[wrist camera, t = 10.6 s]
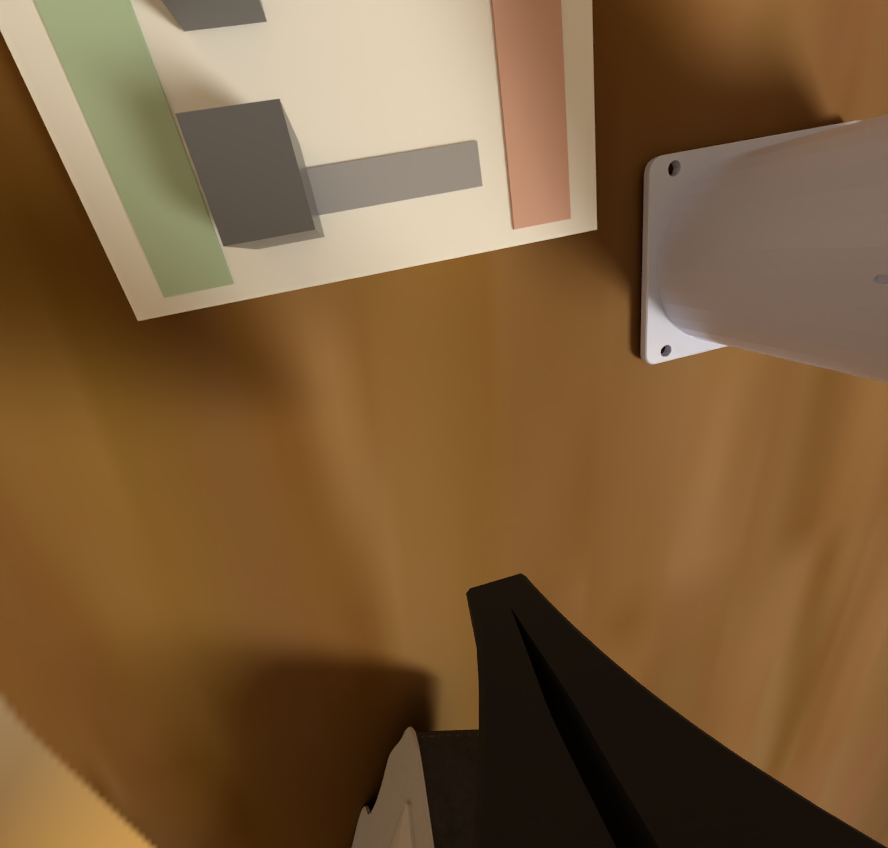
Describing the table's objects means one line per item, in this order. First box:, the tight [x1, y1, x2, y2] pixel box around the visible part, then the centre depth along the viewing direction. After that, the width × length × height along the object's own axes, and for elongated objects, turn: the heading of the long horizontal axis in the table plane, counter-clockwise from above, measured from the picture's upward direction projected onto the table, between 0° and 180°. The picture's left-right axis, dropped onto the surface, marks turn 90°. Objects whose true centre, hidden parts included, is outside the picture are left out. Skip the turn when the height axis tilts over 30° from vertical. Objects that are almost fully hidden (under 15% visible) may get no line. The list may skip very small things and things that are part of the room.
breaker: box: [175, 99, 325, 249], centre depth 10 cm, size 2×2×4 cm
